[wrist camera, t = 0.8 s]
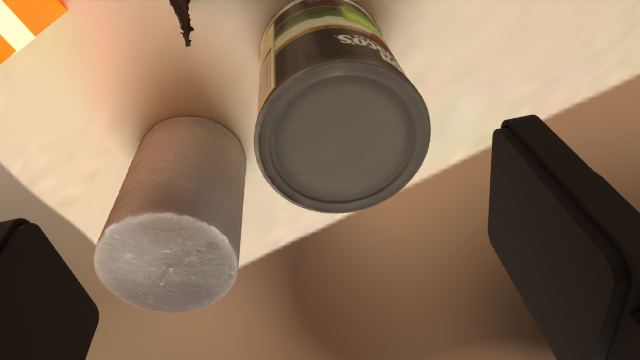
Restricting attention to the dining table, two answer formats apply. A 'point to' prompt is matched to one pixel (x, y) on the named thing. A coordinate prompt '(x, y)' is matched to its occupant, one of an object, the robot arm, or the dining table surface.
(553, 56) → the dining table surface
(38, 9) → the orange juice
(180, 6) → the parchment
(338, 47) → the coffee can
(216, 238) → the pillar candle
